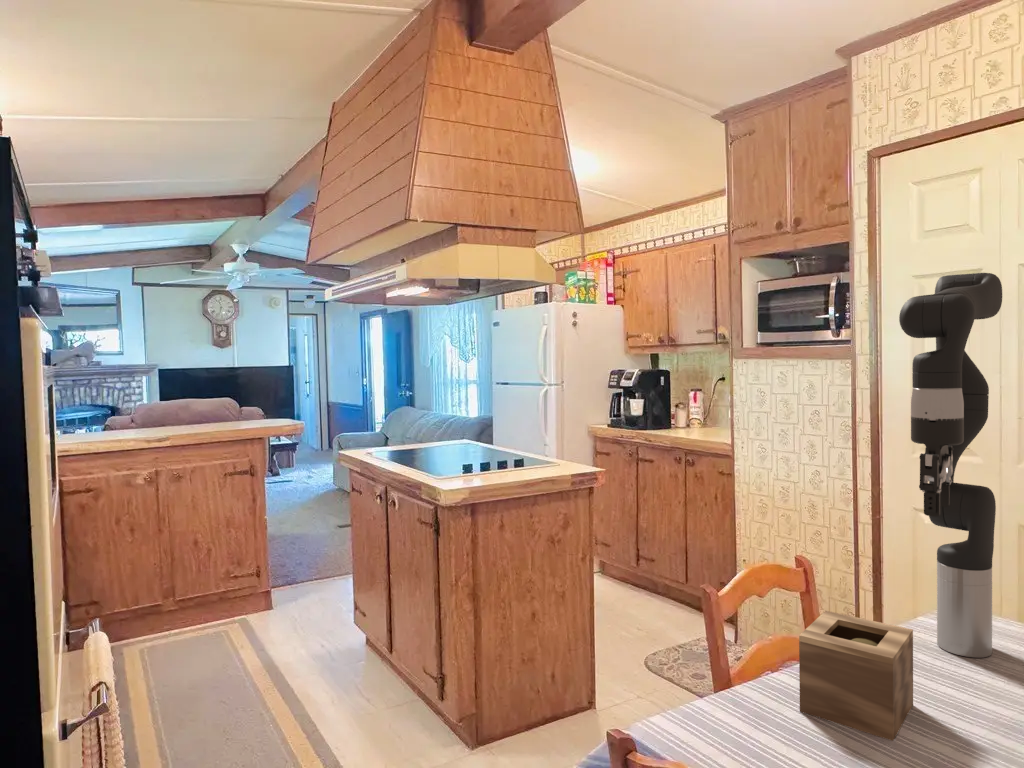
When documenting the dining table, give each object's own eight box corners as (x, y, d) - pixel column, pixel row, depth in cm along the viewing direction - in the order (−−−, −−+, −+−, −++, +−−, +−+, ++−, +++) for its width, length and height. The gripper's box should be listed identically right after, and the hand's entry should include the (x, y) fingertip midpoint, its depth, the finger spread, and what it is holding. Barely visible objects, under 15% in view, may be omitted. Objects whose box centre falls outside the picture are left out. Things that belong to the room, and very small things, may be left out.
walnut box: (826, 680, 124) (825, 610, 123) (913, 705, 115) (912, 629, 114) (799, 711, 113) (799, 635, 113) (893, 741, 104) (892, 658, 104)
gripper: (920, 411, 121) (920, 500, 121) (901, 417, 110) (901, 515, 111) (970, 412, 116) (970, 506, 116) (956, 419, 105) (956, 522, 106)
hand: (936, 510), depth 114 cm, fingers open, 8 cm apart
